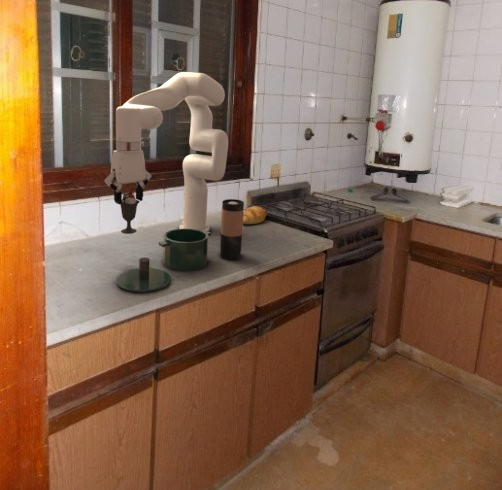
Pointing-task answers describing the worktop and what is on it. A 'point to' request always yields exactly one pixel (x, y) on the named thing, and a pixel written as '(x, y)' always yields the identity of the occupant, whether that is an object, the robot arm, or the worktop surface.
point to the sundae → (129, 210)
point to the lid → (143, 278)
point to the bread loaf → (254, 215)
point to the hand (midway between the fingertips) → (128, 201)
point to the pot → (185, 249)
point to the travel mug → (231, 229)
